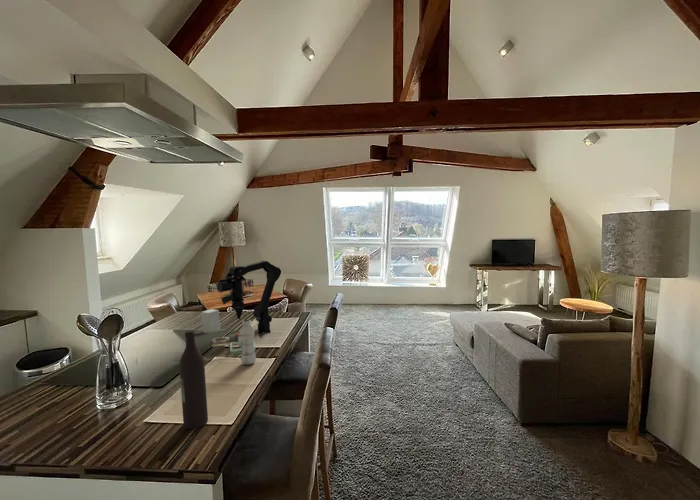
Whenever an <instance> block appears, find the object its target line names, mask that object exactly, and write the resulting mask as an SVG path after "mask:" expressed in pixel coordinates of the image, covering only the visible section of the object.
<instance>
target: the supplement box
mask: <svg viewBox="0 0 700 500" xmlns="http://www.w3.org/2000/svg"><path fill="white" fill-rule="evenodd" d="M200 313H201V314H200V315H201V316H200V317H201V327H202V328H201V329H202V333H204V334H209V333H216V332H220V331H221V327H220V326H221V325H220V324H221V323H220V310H219V309H214V308H213V309H212V308H211V309H207V310H204V311H201V312H200Z"/></svg>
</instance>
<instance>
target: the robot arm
mask: <svg viewBox="0 0 700 500" xmlns="http://www.w3.org/2000/svg"><path fill="white" fill-rule="evenodd" d="M262 269H263V270H264V272H266V273H265V274H266V275H265V276H266V282H265V286H264V290H263V292H262V295H261V298H260V302H259V303H258V305H254V309H253V311H252V313H253V317H254V319H255V320H256V322H258V323H257V332H258V334H266V333H271V325H270V324H271V322H272V320H273V317H272V316H271V315H269V311H270V309H269V304H270V300H271V296H272V293H273V290H274V287H275V284H276V282H277V281H278V280H279V279H280V276H281V274H282V269H280V267H278V266H276V265H274V264H272V263H270V261H267V260H261V261H258V262H257V261H256V262H254V263H250V264H246V265H233V266H230V268H229V269H228V273H227V274H226V276H225V278H218V282H217V285H216V289H217V292H219V293H223V292H228V291H230V293H229V294H226V295H224V296H222V297H221V298H220V299H221V303H222V304H223V305H225V304H227V303H230V302H231V308H232V310H234V311H235V314H236V317H237V319H238V320H240V319H241V316H242V314H243V313H244V309H245V301H244V291H243V290H244V288H243V281H246V280H247V279H246V277H244V276H246V275H247V274H248V273H252V272H254V271H255V272H256V271H258V270H262Z"/></svg>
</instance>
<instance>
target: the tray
mask: <svg viewBox="0 0 700 500" xmlns="http://www.w3.org/2000/svg"><path fill="white" fill-rule="evenodd" d="M235 345H239V342H231V343H230V344H229V353H230V354H229V355H230V356H237V355H241V354H242V348H239V347H238V348H233V346H235ZM256 349H257V348H256V342H255V340H254V351H255V353H256V351H257V350H256Z"/></svg>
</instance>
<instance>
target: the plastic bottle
mask: <svg viewBox="0 0 700 500" xmlns="http://www.w3.org/2000/svg"><path fill="white" fill-rule="evenodd" d="M241 324H242V327H241V328H240V330H239V333H240V338H241V344H242V351H241V352H242V354H240V361H241V364H242V365H244V366H248V365H252V364H254V363H255V362H256V358H257V356H256V352H255V351H254V350H255V349H254V341H255V329H254V327H253V326H252V322H251V319H247V318H246V319H243V320H242V321H241Z"/></svg>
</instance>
